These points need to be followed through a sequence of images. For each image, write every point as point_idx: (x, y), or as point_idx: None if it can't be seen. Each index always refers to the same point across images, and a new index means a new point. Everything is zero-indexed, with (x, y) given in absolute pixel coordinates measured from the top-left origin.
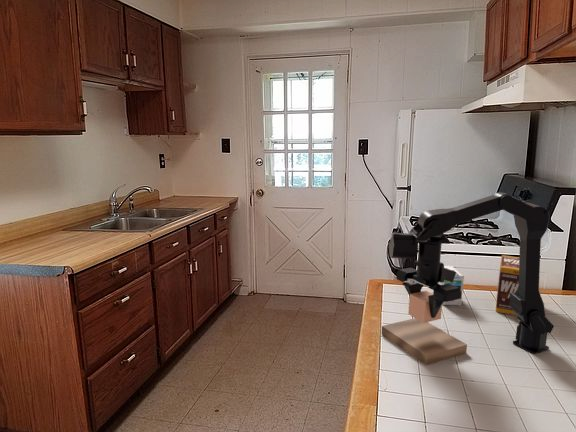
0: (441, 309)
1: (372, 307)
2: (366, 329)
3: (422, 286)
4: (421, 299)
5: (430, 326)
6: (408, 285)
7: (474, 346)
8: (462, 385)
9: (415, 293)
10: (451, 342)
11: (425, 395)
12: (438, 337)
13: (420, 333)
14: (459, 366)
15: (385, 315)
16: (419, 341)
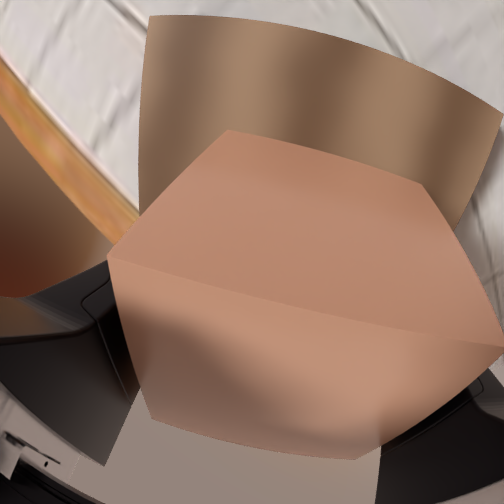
0: (453, 233)
1: (4, 101)
2: (113, 237)
3: (44, 345)
4: (303, 453)
5: (270, 49)
6: (86, 457)
7: (478, 23)
8: (496, 296)
9: (161, 404)
10: (450, 145)
11: None
12: (381, 139)
13: None
14: (485, 220)
15: (51, 97)
16: None
